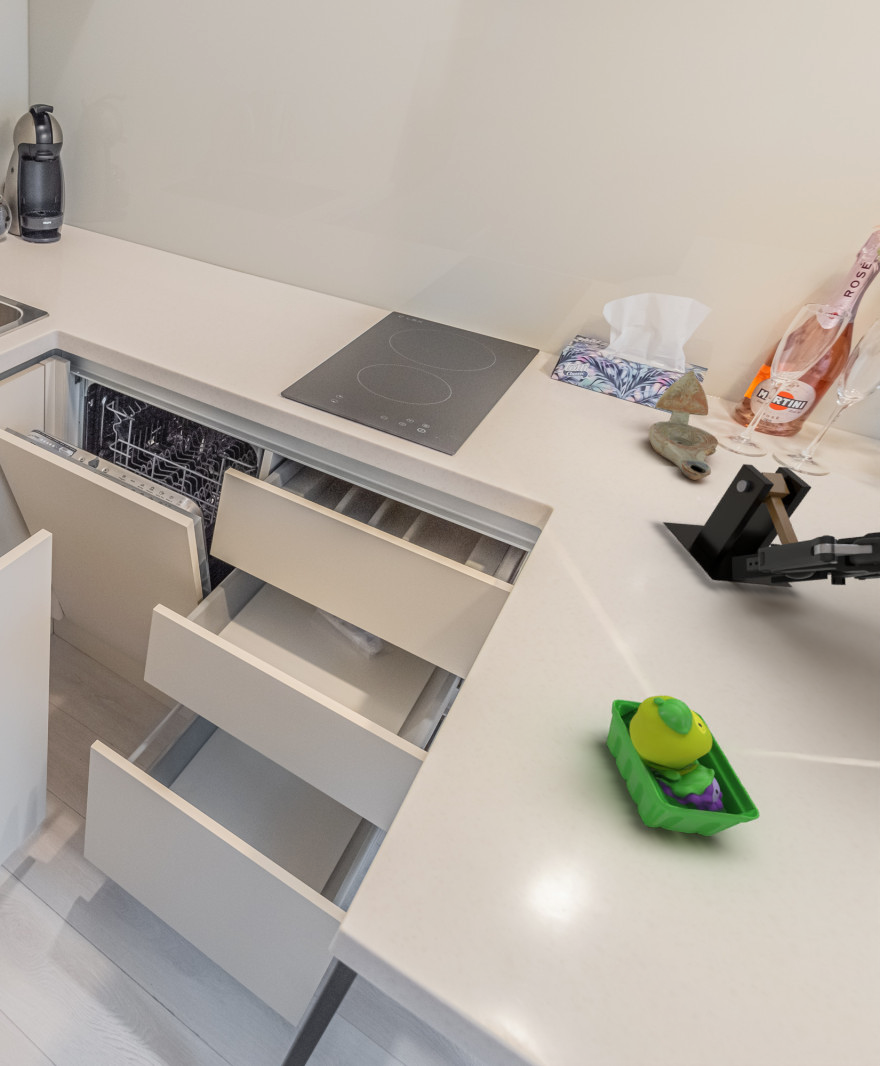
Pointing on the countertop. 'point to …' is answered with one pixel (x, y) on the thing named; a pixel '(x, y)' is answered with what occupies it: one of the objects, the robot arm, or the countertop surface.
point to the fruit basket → (676, 768)
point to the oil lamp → (684, 428)
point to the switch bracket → (739, 524)
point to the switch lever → (782, 516)
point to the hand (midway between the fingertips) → (755, 570)
